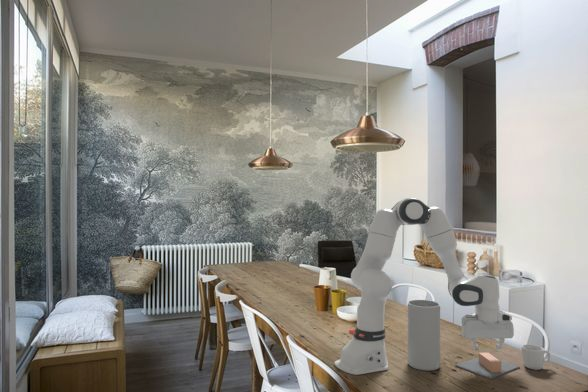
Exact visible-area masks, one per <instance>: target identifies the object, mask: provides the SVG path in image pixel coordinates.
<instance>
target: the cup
mask: <svg viewBox="0 0 588 392" xmlns="http://www.w3.org/2000/svg"><path fill="white" fill-rule="evenodd" d="M521 352H522V353H521V354H522V360H523V361H522V362H523V366H524V367H526V368H527V369H529V370H534V371H539V370H542V369H543V367H544V363H548V362H549V361H550V360H551V353H550V351H549V350H546V349H545V348H544V347H542V346H540V345H537V344H523V345H521ZM545 354H546V358H545Z"/></svg>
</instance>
